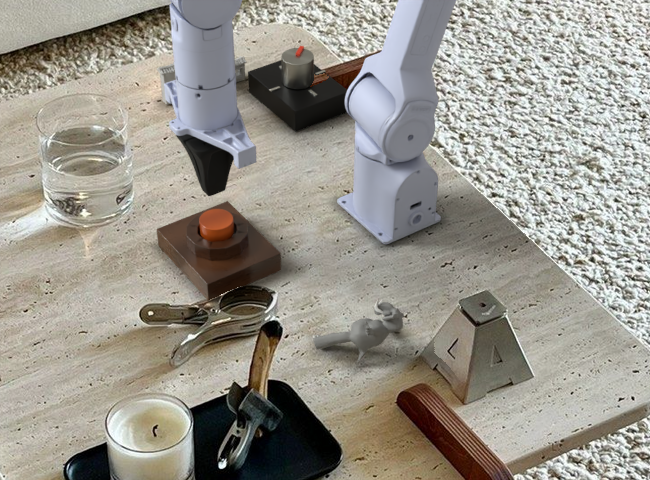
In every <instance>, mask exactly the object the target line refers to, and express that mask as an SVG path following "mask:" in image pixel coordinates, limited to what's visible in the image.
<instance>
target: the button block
mask: <svg viewBox="0 0 650 480" xmlns="http://www.w3.org/2000/svg"><path fill="white" fill-rule="evenodd" d="M212 209H223V210H226V211H228V212H230V213H231V214H232V216H233V220H234V234H233V236H232V237H231V238H230V239H227V240H225V241H218V242H211V241H208V240H205V239H204V238H203V237H202V236H201V234H200V224H199V219H200V216H201V215H202V214H203V213H204V212H206V211H208V210H212ZM156 237H157V245H158V247H159V249H161V251H162V252H163V253H164V254H165V255H166V256H167V257H168V258H169V259H170V260H171V262H172V263H174V265H175V266H176V267H177V268H178V269H179V270H180V272H181V273H182V274H183V275H184V276H185V277H186V279H188V281H190V282H191V284H192V285H193V286H194V287H195V288H196V289H197V291H199V292H200V293H201V294H202V296H203V297H204V298H205V299H206V300H207V301H208V300H210V299H212V298H215V297H217V296H219V295H221V294H223V293H225V292H227V291H230V290H232V289H235V288H237V287H240V286H244V287H246V286H248V285H250V284H253V283H255V282H258V281H260V280H262V279H265V278H267V277H269V276H272V275H274V274H276V273H278V272H281V271H282V253H281V252H280V251H279V250H278V249H277V248H276V247H275V245H273V244H272V243H271V241H269V240H268V239H267V238H266V237H265V236H264V235H263V234H262V233H261V232H260V231H259V230H258V228H256V227H255V226H254V225H253V224H252V223H251V222H250V221H249V220H248V219H247V218H246V217H245V216H244V215H243V214H242V213H241V212H240V211H238V209H237V208H236V207H235V206H233V205H232V204H231V203H230V201H228V200H227V201H223V202H221V203H219V204H216V205H214V206H211V207H209V208H206V209H204V210H201V211H199V212H196V213H194V214H191V215H188V216H186V217H183V218H181V219H177V220H175V221H173V222H171V223H168V224H165V225H163V226H160V227H158V228H156Z"/></svg>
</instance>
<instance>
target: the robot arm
mask: <svg viewBox="0 0 650 480" xmlns="http://www.w3.org/2000/svg"><path fill="white" fill-rule="evenodd" d="M169 1H170V4H169V15H170V26H171V31H170V33H171V34H170V35H171V43H172V56H173V62H174V66H175V77H176V80H173V81H170V82H168V83H165V84H164V89H165V99H166V101H167V102H168V103H170V104H169V105H172V109H173V112H174V115H175V118H174V119H171V120H169V122H168V127H169V130H170V131H171V132H173V134H175V136H176V138H177V139H178V141H179V142H180V143H181V145H182V146H183V148H184V149H185V151H186V153H187V156H188V158H189V159H190V161H191V164H192V166H193V169H194V172H195V175H196V178H197V181H198V184H199V186H200V188H201V190H202V192H203V193H204V194H205V195H207V196H208V197H213V196H214V195H217V194H220V193H222V192H225V191H226V188H227V184H228V180H229V177H230V176H229V175H230V172H231V169H232V165H234V166H235V167H236V168H237V169H238V170H240V169H243V168H246V167H249V166H251V165H253V164H256V163H257V145H256V144H255V143H254V142H253V141H252V140H251V138H250V136H249V133H248V131H247V129H246V126H245V123H244V120H243V117H242V114H241V111H240V109H239V107H238V94H237V82H236V73H235V59H236V56H235V57H234V53H235V42H234V41H235V40H234V27H233V19H234V18H235V17H236V15H237V14H238V12H239V11H240V8H241V5H242V3H243V0H169ZM456 3H457V0H397V3H396V6H395V9H394V12H393V16H392V17H391V21H390V24H389V28H388V30H387V34H386V37H385V39H384V43H383V45H382V49H381V51H380V52H378V53H374V54H372V55H370V56H367V57H366V58H365V59H364V61H363V64H362V67H361V69H360V71H359V73H358V74H357V76H356V77H355V78H354V80H353V81H352V82H351V83H350V85H349V86H348V88H347V89H346V90H347V92H346V96H345V108H346V110H347V113H346V114H348V116H349V117H350V118H351V119H352V120H354V131H355V133H354V153H353V154H354V155H353V185H352V186H353V190H352V192H350V193H348V194H346V195H345V194H344V195H343V196H340V197H338V198H337V200H336V201H337V204H338V205H339V206H340V207H341V208H342V209H343V210H344V211H345V212H347V214H349V215H350V216H351V217H352V218H353V219H354V220H356V221H357V222H358V223H359V224H360V225H361V226H362V227H364V228H365V230H367V231H368V232H369V233H370V234H371V235H373V237H375V238H376V239H377V240H378V241H379V243H381V244H383V245H389V244H391V243H394V242H396V241H398V240H401V239H403V238H405V237H408V236H411V235H412V234H415V233H417V232H419V231H421V230H423V229H426V228H427V227H430V226H432V225H435V224H437V223H439V222H441V220H442V216H441V215H440V214H439V213H437V201H438V190H439V175H438V174H437V171H436V170H435V169H434V168H433V167H432V166H431V165H430V163H429V162H428V160H427V159H426V157H425V154H424V151H425V150H427V148H428V147H429V145H430V144H431V142H432V141H433V138H434V135H435V133H436V119H435V117H436V116H435V114H436V110H437V108H438V105H439V96H438V95H439V94H438V91H437V88H436V83H435V79H434V76H433V66H434V64H435V61H436V58H437V55H438V53H439V50H440V47H441V44H442V41H443V38H444V36H445V33H446V30H447V28H448V25H449V22H450V20H451V16H452V13H453V11H454V7H455V6H456Z"/></svg>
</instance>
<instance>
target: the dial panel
mask: <svg viewBox="0 0 650 480" xmlns="http://www.w3.org/2000/svg"><path fill="white" fill-rule="evenodd" d="M323 73H327V71H326V70H325V69H321V68H320V67H319V66H317V65H316V64H315V63H314V74H315V75H319V74H323ZM327 76H329V78H328V79H327V80H326V81H323V82H322V83H319V84H317V85H314V86H312V87H308V88H305V89H291V88H288V87H286V86H285V85H284V84H283V83H282V63H281V59H279V60H276V61H275V62H271V63H269V64H266V65H262V66H260V67H257V68H253V69H251V70H248V71H247V81H248V82H247V84H248V85H247V86H248V93H249V94H251V96H253V97H254V98H255V99H256V100H258V102H260V104H262V105H263V106H264V107H266V108H267V109H268V110H269V111H270V112H272V113H273V114H274V115H275V116H276V117H277V118H278V119H279V120H281V121H282V122H283V123H284V124H286V126H288V128H290V129H291V130H292V131H293V132H294V133H297V132H300V131H302V130H305V129H307V128H310V127H313V126H315V125H318V124H320V123H324V122H327V121H329V120H332V119H334V118H336V117H340V116H343V115H345V114H348V113H347V110H346V108H345V96H346V92H347V90H348V89H347V88H345V87H344V86H343V85H341V84H340V83H339V82H338V81H336V80H335V79H334V78H332V77H331V76H330V75H329V74H327Z"/></svg>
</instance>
